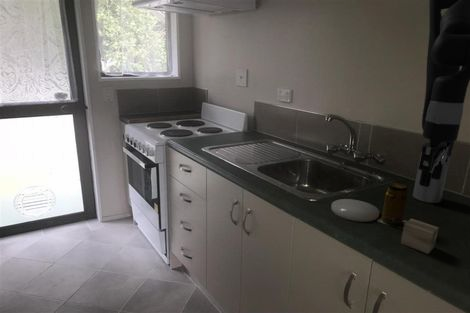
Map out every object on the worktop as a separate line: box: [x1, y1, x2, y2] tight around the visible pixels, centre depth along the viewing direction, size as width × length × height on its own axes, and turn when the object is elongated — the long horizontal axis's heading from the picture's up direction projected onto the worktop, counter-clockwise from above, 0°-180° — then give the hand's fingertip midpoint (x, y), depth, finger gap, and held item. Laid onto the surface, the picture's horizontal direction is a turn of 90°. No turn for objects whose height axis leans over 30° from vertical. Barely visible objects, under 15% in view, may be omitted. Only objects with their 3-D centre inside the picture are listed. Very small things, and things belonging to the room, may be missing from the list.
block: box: [400, 218, 439, 254], centre depth 93 cm, size 5×7×6 cm
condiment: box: [376, 182, 408, 230], centre depth 105 cm, size 7×8×12 cm
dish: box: [330, 198, 380, 223], centre depth 114 cm, size 15×15×1 cm
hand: (429, 182), depth 89 cm, fingers open, 8 cm apart
